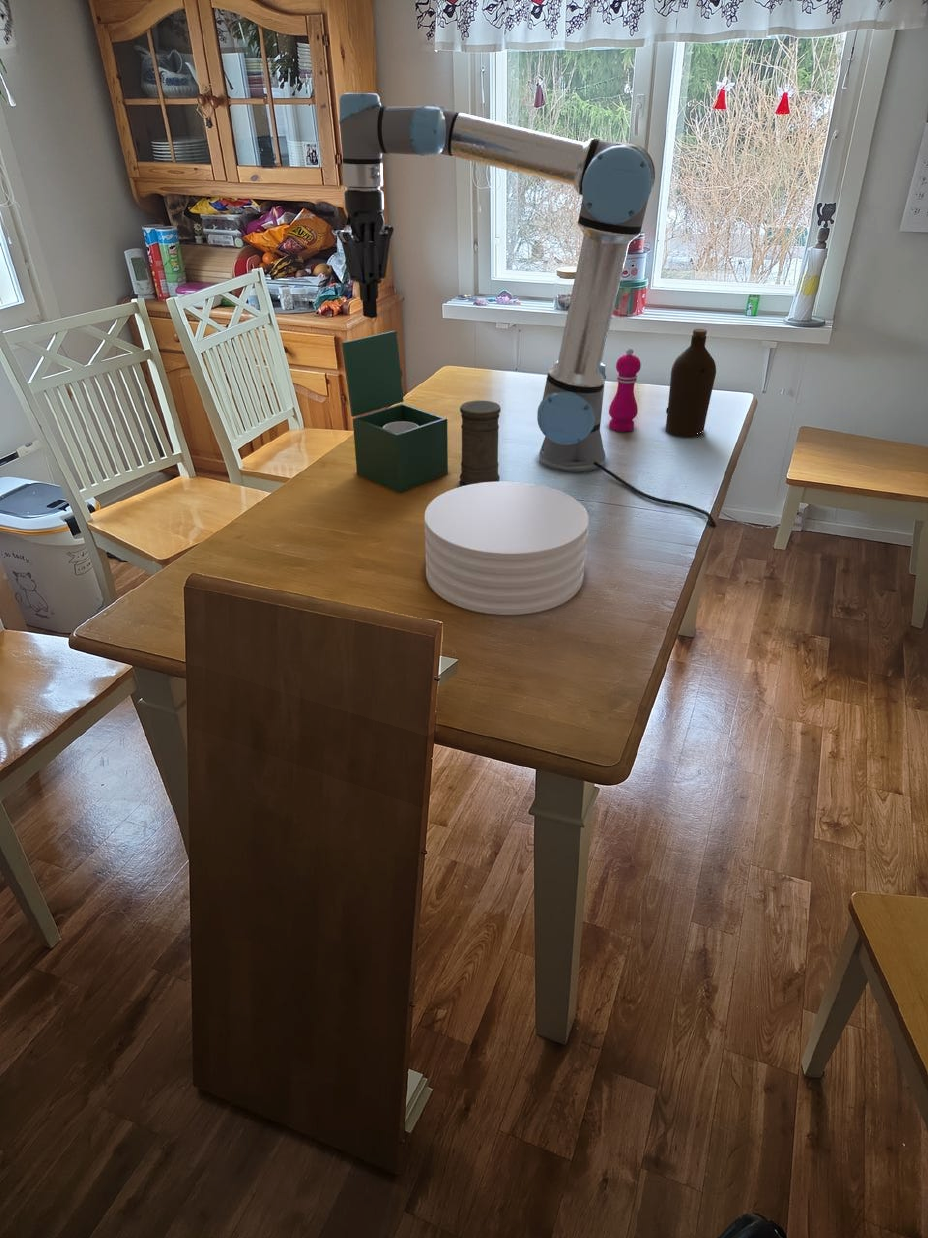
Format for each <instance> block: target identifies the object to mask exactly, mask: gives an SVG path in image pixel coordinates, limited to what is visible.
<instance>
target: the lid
mask: <svg viewBox="0 0 928 1238" xmlns="http://www.w3.org/2000/svg"><path fill="white" fill-rule="evenodd" d="M341 349H342V357H343V364H344V371H345V372H344V373H345V379H346V387H347V395H348V403H349V410H350V416H351V417H353V418H355V417H358V416H362V415H365V414H368V413H372V412H375V411H378V410H382V409H385V408H388V407H392V406H395V405H398V404H402V403H404V402H405V399H404V391H403V379H402V372H401V371H402V370H401V360H400V350H399V339H398V331H397V330H391V331H387V332H383V333H377V334H374V335H370V336H369V335H368V336H365V337H360V338H356V339H351V340H348V341H342V342H341Z"/></svg>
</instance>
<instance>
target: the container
mask: <svg viewBox="0 0 928 1238" xmlns="http://www.w3.org/2000/svg"><path fill="white" fill-rule="evenodd" d="M459 410H460V411H459V412H460V416H461V426H460V428H461V462H460V466H461V473H460V475H459V483H458V485H459V487H462V486H466V485H470V484H476V483H484V482H501V481H500V475H499V428H500V425H499V419H500V413H501V410H502V409H501V406H500V404H498V403H497V402H495V401H491V400H483V399H482V400H479V399H478V400H469V401H466V402H463V403H462V404H461V405H460V408H459Z"/></svg>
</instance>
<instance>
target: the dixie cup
mask: <svg viewBox="0 0 928 1238" xmlns="http://www.w3.org/2000/svg"><path fill="white" fill-rule="evenodd" d="M416 427H419V426H418V425H417V424H415V423H412V422H405V421H399V422H392V423H388V424H386V425H384V426H383V427H382V428H384V429H386V430H389V431H392V432H394V433H397V434H398V433H401V432H404V431H407V430H410V429H413V428H416Z"/></svg>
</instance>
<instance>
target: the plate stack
mask: <svg viewBox="0 0 928 1238" xmlns="http://www.w3.org/2000/svg"><path fill="white" fill-rule="evenodd" d="M423 518H424V538H425V540H424V541H425V542H424V548H425V549H424V550H425V565H426V566H425V577H426V581H427V583H428V585H429V587H430V588H431V590H433V592H434V593H435V594H436V595H438V596H439V597H440V598H441V599H443V600H445V601H446V602H447V603H450V604H452V605H454V606H457V607H459V608H462V609H465V610H468V611H472V612H476V613H482V614H487V615H496V616H497V615H498V616H518V615H529V614H535V613H540V612H545V611H547V610H551V609H553V608H556V607H558V606H561V605H563V604H564V603H566V602H568V601H569V600H571V599H573V597H574V596H575V595H576V594H577V593H578V592H579V590H580V589H581V587H582V585H583V582H584V575H585V564H586V555H587V544H588V543H587V542H588V533H589V532H588V531H589V526H590V525H589V524H590V516H589V513H588V511H587V509H586V508H585V506H584V505H583V504H582V503H580V502H579V501H578V500H577V499H576V498H574V497H572V496H571V495H569V494H567V493H565V492H563V491H560V490H558V489H555V488H551V487H548V486H545V485H539V484H536V483H535V484H534V483H529V482H520V481H500V482H484V483H476V484H470V485H466V486H462V487H460V486H459V487H456V488H452V489H450V490H447V491H445V492H443V493H441V494H439V495H438V496H436V497H435V498H433V499H432V501H430V502H429V503H428V504H427V506H426V508H425V511H424V517H423Z"/></svg>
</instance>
